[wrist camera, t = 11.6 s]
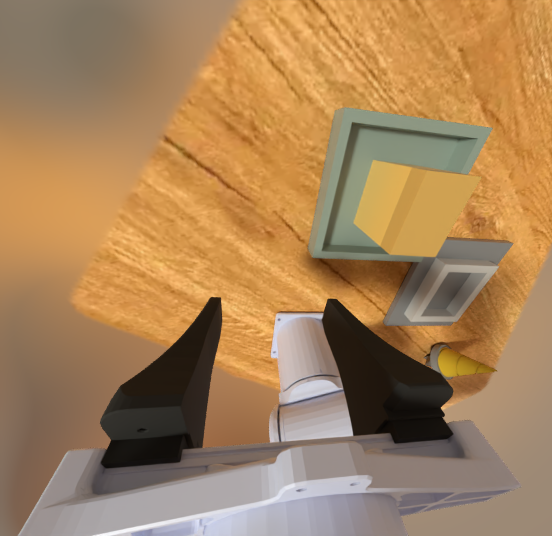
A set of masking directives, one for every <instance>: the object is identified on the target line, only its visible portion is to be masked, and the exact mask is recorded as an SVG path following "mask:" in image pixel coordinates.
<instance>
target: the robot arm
mask: <svg viewBox="0 0 552 536" xmlns="http://www.w3.org/2000/svg"><path fill="white" fill-rule="evenodd" d="M279 318H280V319H279ZM221 326H222V307H221V297H211V298H210V299H209V300H208V302H207V304H206V305H205V307H204V308H203V310H202V311H201V313H200V314H199V315H198V317H197V318H196V319H195V321H194V322H193V323H192V325H191V326H190V327H189V328H188V329H187V330H186V332H185V333H184V334H183V335H182V336H181V337H180V338H179V339H178V340H177V341H176V342H175V343H174V344H173V345H172V346H171V347H170V348H169V349H168V350H167V351H166V352H165V353H164V354H163V355H161V356H160V357H159V358H158V359H157V360H155V361H154V362H153V363H151V364H150V365H149V366H148V367H147V368H145V369H144V370H143V371H141V372H140V373H138V374H137V375H136V376H134V377H133V378H132V379H130V380H128V381H127V382H126V383H124V384H122V385H121V386H120V387H119V389H118V390H117V392H116V393H115V395H114V396H113V398H112V399H111V401H110V403H109V405H108V407H107V409H106V410H105V412H104V414H103V416H102V418H101V421H100V424H101V426H102V429H103V430H104V431H105V432H106V433H107V435H108V436H109V437H110V439H111V442H110V444H109V446H108V448H107V450H106V449H104V448H87V449H73V450H69V451H68V452H67V453H66V455H65V456H64V458H63V460H62V462H61V463H60V465H59V467H58V468H57V470H56V472H55V473H54V475H53V477H52V479H51V480H50V482H49V484H48V486H47V487H46V489H45V491H44V492H43V494H42V496H41V498H40V499H39V501H38V503H37V504H36V506H35V508H34V509H33V511H32V513H31V515H30V516H29V518H28V520H27V521H26V523H25V525H24V527H23V528H22V530H21V532H20V533H19V535H18V536H408V533H407V531H406V529H405V526H404V523H403V521H402V518H401V516H405V515H410V514H416V513H421V512H426V511H431V510H437V509H442V508H448V507H453V506H459V505H465V504H472V503H479V502H485V501H488V500H490V499H493V498H495V497H498V496H500V495H503V494H505V493H508V492H510V491H513V490H515V489H518V488H520V487H521V484H520V483H519V482H518V480H517V479H516V478H515V476H514V475H513V474H512V472H511V471H510V470H509V469H508V467H507V466H506V465H505V463H504V462H503V461H502V459H501V458H500V457H499V455H498V454H497V453H496V452H495V450H494V449H493V448H492V446H491V445H490V444H489V443H488V441H487V440H486V439H485V437H484V436H483V435H482V433H481V432H480V431H479V429H478V428H477V427H476V426H475V424H474V423H473V422H472V421H471V420H465V421H453V422H449V423H446V422H445V421H444V419H443V418H442V417H444V416H445V414H444V412H443V411H442V410H441V407H442V406H443V405H444V404H445V403H446V402H447V401H448V400H449V399H450V398H451V397H452V395H453V388H452V387H451V386H450V385H449V383H448V382H447V381H446V380H445V378H444V377H443V376H442V375H441V373H439V372H437V371H435V370H433V369H431V368H429V367H427V366H425V365H423V364H421V363H419V362H417V361H416V360H414V359H412V358H410V357H408V356H407V355H405V354H403V353H402V352H400V351H398V350H397V349H395V348H394V347H392V346H391V345H389V344H388V343H386V342H385V341H384V340H382V339H381V338H380V337H378V336H377V335H376V334H374V333H373V332H372V331H371V330H369V329H368V328H367V327H366V326H365V325H363V324H362V323H361V322H360V321H359V320H358V319H357V318H356V317H355V316H354V315H353V314H352V313H351V312H349V311H348V310H347V309H346V308H345V307H344V306H343V305H342V304H341V303H340V302H339V301H338V300H337V299H328V300H327V303H326V307H325V310H324V313H277V314H276V318H275V326H274V334H273V341H272V349H271V357H272V358H277V359H278V368H279V378H280V387H281V393H279V400H280V404H277V405H275V406H274V408H273V411H272V413H271V415H270V420H269V435H270V443H260V444H246V445H233V446H221V447H208V448H202V446H203V437H204V427H205V419H206V411H207V403H208V396H209V388H210V381H211V374H212V369H213V364H214V360H215V356H216V352H217V347H218V343H219V339H220V334H221Z"/></svg>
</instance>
